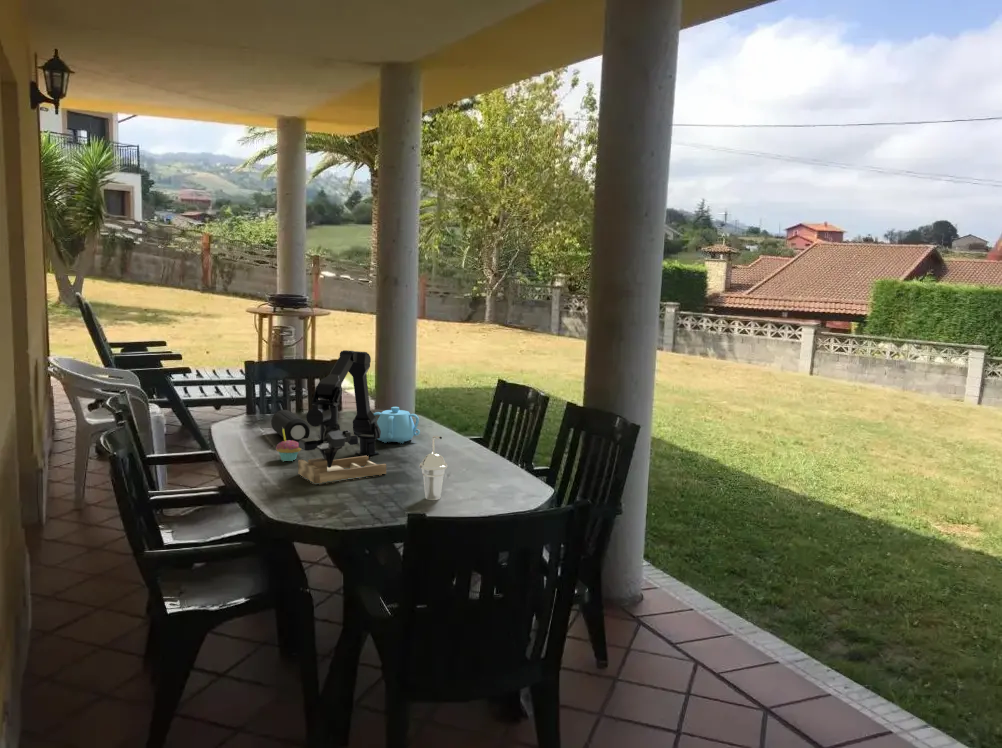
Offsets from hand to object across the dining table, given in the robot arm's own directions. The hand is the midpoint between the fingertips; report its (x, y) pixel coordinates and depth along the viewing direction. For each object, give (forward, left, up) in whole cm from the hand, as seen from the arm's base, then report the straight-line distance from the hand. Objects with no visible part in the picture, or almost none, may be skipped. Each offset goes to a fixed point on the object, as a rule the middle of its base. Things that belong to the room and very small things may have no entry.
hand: (329, 467), depth 261 cm
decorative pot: (-36, +44, -3) cm, 57 cm away
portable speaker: (-59, +10, -4) cm, 60 cm away
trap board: (0, +5, -3) cm, 6 cm away
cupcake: (-27, -3, -3) cm, 27 cm away
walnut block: (0, -4, -1) cm, 4 cm away
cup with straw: (+38, +17, -3) cm, 42 cm away
